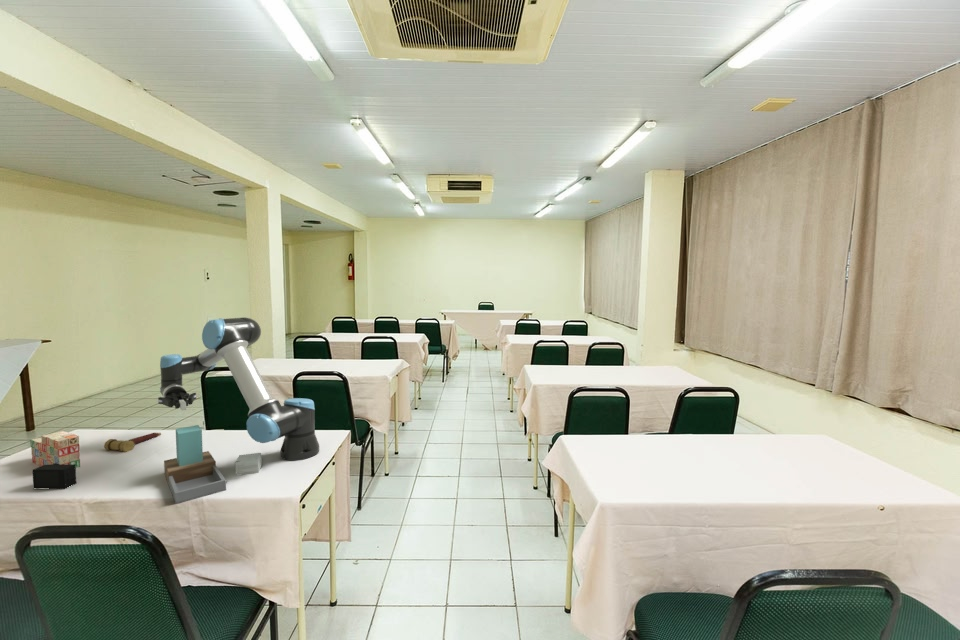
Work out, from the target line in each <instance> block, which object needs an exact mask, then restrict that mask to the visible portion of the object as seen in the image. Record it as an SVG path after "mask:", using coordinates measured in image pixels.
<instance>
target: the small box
mask: <svg viewBox="0 0 960 640" xmlns="http://www.w3.org/2000/svg"><path fill="white" fill-rule="evenodd" d="M234 465H235V476H243V475H250V474H256V473H260V470H261V467H262V465H263V464H262V453H261V452H256V453H255V452H254V453H247V454H239V455H238V457H237V459H236V461H235V462H234Z"/></svg>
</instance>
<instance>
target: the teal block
mask: <svg viewBox="0 0 960 640" xmlns="http://www.w3.org/2000/svg"><path fill="white" fill-rule="evenodd" d="M175 443H176V444H175V446H176V448H175V449H176V458H177V462H178V464H179V466H180V467H181V466H185V465H189V464H194V463H198V462H202V461H203V452H204V451H203V429H202V428H201V427H200V425H198V424H197V425H192V426H191V425H190V426H186V427H185V426H184V427H180V428H175Z"/></svg>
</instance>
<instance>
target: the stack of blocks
mask: <svg viewBox="0 0 960 640" xmlns="http://www.w3.org/2000/svg"><path fill="white" fill-rule="evenodd" d="M30 448H31V450H30V451H31V461H32V463H34V464H36V465H38V464H39V465H38V466H43V465H52V464H55V463H57V464H60V465H75V467H76V468H79V467H80V468H81V459H80V456H81V455H80V451H81V450H80V436H79V435H76V434H74V433H72V432H67V431H63V430H61V431H57V432H51V433H49V434H44V435H41V437H37V438H33V439H30Z"/></svg>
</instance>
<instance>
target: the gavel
mask: <svg viewBox="0 0 960 640" xmlns="http://www.w3.org/2000/svg"><path fill="white" fill-rule="evenodd" d="M161 435H162V432H151V433H148V434H144V435H140V436H138V437H134V438H130V439H128V440H118V439H113V438H110V439H108V440H106V441H105V442H104V445H103V447H104V450H105V451H112V450H113V451H120V452H122V453H128V452H130V451H132V450H133V449H134V447H135V444H139V443H144V442H146V440H147V441H150V440H153V439H155V438H158V437H160V436H161ZM152 438H153V439H152ZM149 439H150V440H149Z"/></svg>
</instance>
